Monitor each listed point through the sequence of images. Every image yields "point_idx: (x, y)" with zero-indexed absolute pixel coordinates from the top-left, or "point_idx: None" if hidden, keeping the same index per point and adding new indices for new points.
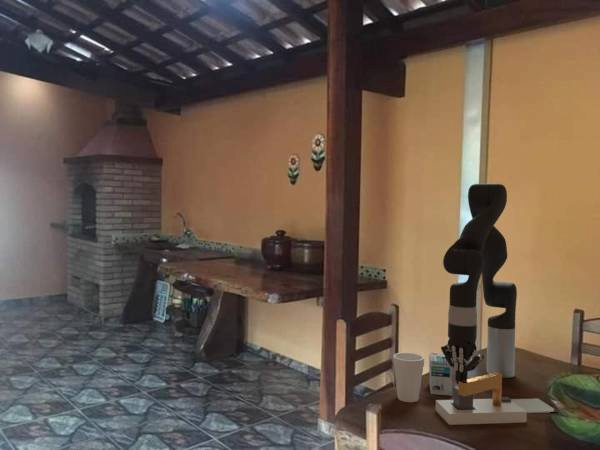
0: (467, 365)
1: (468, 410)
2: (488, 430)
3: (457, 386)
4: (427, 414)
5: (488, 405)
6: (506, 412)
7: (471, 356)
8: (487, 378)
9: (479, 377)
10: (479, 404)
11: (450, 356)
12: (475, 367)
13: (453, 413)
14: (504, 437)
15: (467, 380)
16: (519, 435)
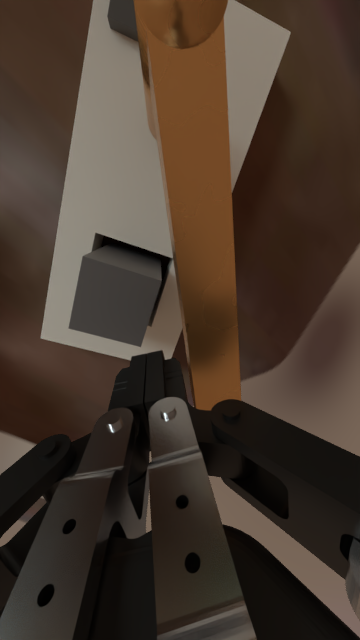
0: (258, 506)
1: (168, 293)
2: (244, 274)
3: (74, 310)
4: (79, 362)
5: (156, 169)
6: (246, 153)
7: (296, 579)
8: (230, 222)
9: (198, 279)
10: (132, 201)
11: (10, 579)
12: (275, 420)
13: (170, 356)
14: (299, 266)
15: (212, 393)
16: (317, 208)
